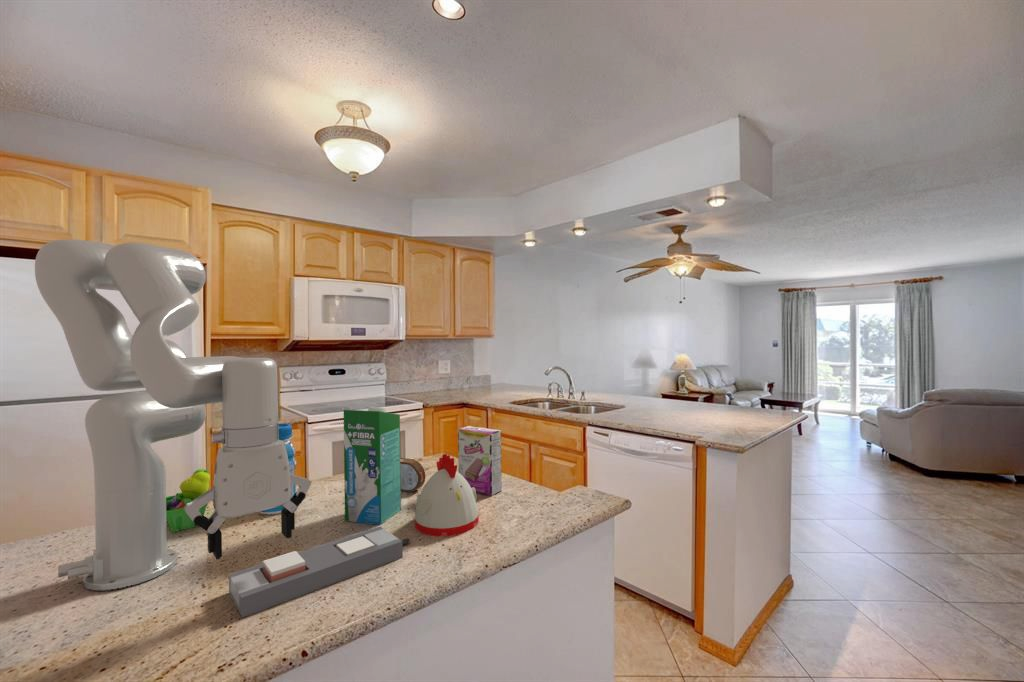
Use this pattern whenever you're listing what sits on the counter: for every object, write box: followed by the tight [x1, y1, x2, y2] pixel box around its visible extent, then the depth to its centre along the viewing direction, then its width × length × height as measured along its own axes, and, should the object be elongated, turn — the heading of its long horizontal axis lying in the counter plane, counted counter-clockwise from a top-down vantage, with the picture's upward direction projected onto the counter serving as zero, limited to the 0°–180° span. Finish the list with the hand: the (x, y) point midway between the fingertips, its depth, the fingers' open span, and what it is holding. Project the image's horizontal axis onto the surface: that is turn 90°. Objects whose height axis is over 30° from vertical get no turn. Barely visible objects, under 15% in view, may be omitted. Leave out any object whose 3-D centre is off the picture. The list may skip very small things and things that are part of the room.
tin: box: [400, 457, 426, 493], centre depth 120 cm, size 15×3×8 cm, turn 68°
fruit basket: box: [166, 468, 211, 533], centre depth 100 cm, size 11×9×11 cm
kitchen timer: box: [414, 453, 480, 537], centre depth 98 cm, size 14×14×15 cm
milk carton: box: [343, 406, 402, 526], centre depth 102 cm, size 9×9×25 cm
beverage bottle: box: [258, 423, 297, 516], centre depth 107 cm, size 8×8×20 cm
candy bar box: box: [457, 425, 502, 497], centre depth 118 cm, size 11×5×16 cm, turn 58°
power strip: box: [228, 526, 411, 618], centre depth 78 cm, size 30×9×3 cm, turn 133°
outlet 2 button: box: [336, 536, 375, 557], centre depth 81 cm, size 5×5×2 cm
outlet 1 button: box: [262, 550, 305, 583], centre depth 73 cm, size 5×5×2 cm
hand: (253, 545), depth 70 cm, fingers open, 9 cm apart
